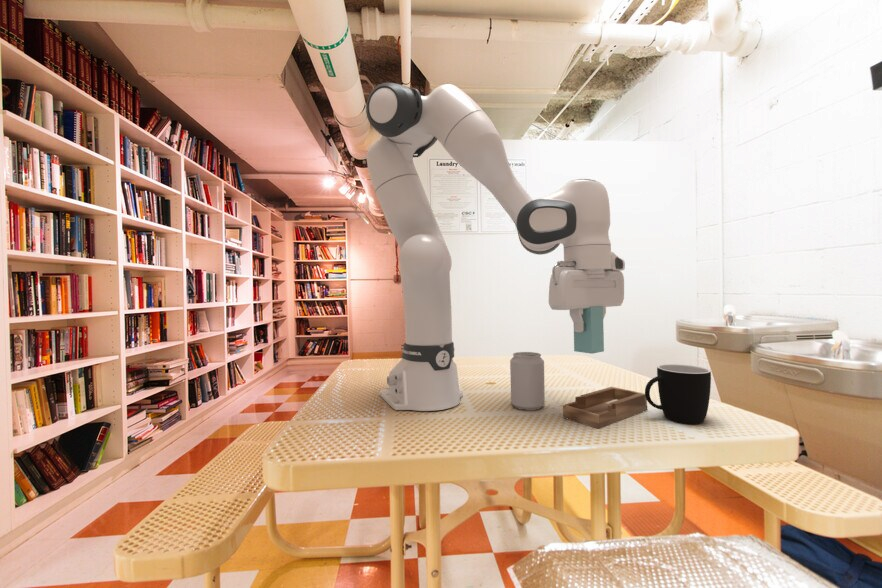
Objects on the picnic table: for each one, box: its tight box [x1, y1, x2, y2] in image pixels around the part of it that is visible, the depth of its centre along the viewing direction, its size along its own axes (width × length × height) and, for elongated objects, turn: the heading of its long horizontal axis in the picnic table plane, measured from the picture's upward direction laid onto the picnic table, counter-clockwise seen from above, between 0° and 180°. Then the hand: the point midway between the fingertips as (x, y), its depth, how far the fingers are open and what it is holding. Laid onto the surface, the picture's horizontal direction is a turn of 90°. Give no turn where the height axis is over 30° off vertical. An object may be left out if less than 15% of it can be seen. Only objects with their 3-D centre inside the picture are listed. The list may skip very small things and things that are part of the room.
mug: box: [644, 363, 712, 425], centre depth 74 cm, size 12×9×10 cm
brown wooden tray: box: [562, 386, 648, 430], centre depth 78 cm, size 8×18×4 cm, turn 124°
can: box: [509, 351, 546, 411], centre depth 84 cm, size 8×8×12 cm
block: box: [573, 306, 605, 355], centre depth 75 cm, size 4×4×9 cm
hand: (588, 330), depth 75 cm, fingers closed on block, 4 cm apart
